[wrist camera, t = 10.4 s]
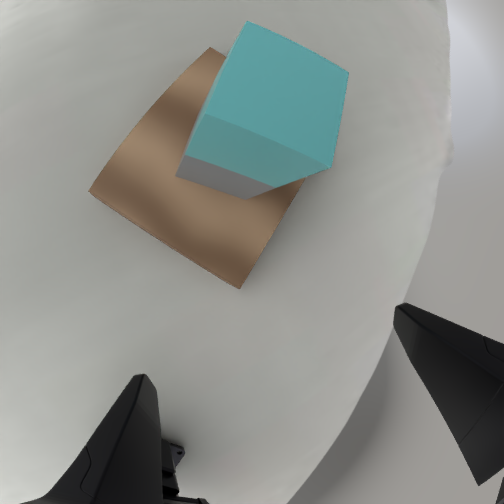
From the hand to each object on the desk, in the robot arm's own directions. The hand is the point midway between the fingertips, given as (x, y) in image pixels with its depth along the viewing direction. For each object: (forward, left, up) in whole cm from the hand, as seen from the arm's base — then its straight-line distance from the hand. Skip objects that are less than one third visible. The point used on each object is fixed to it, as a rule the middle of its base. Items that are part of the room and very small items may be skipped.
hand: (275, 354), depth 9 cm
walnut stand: (+9, +4, -13) cm, 16 cm away
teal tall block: (+9, +4, -11) cm, 14 cm away
